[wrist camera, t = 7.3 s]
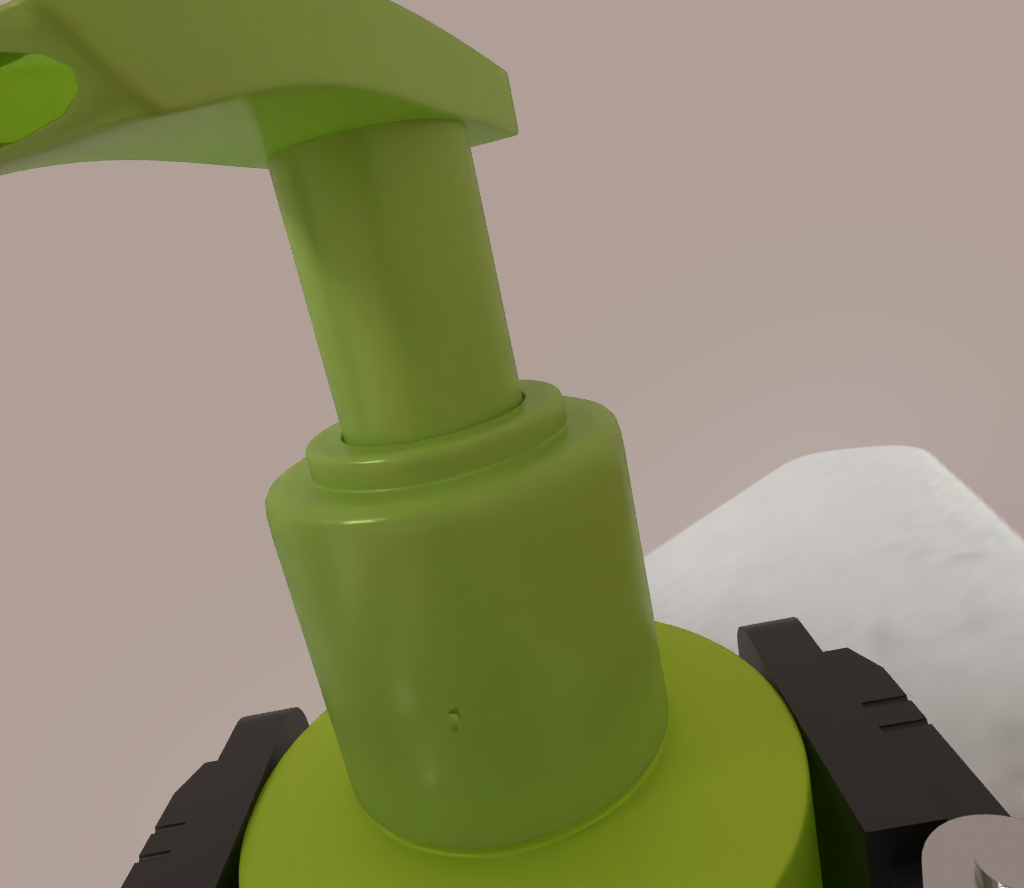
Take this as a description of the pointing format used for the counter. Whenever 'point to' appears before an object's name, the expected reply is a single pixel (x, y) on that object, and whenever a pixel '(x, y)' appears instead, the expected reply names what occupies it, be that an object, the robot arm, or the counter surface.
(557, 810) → the soap dispenser
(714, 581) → the counter surface
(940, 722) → the counter surface
